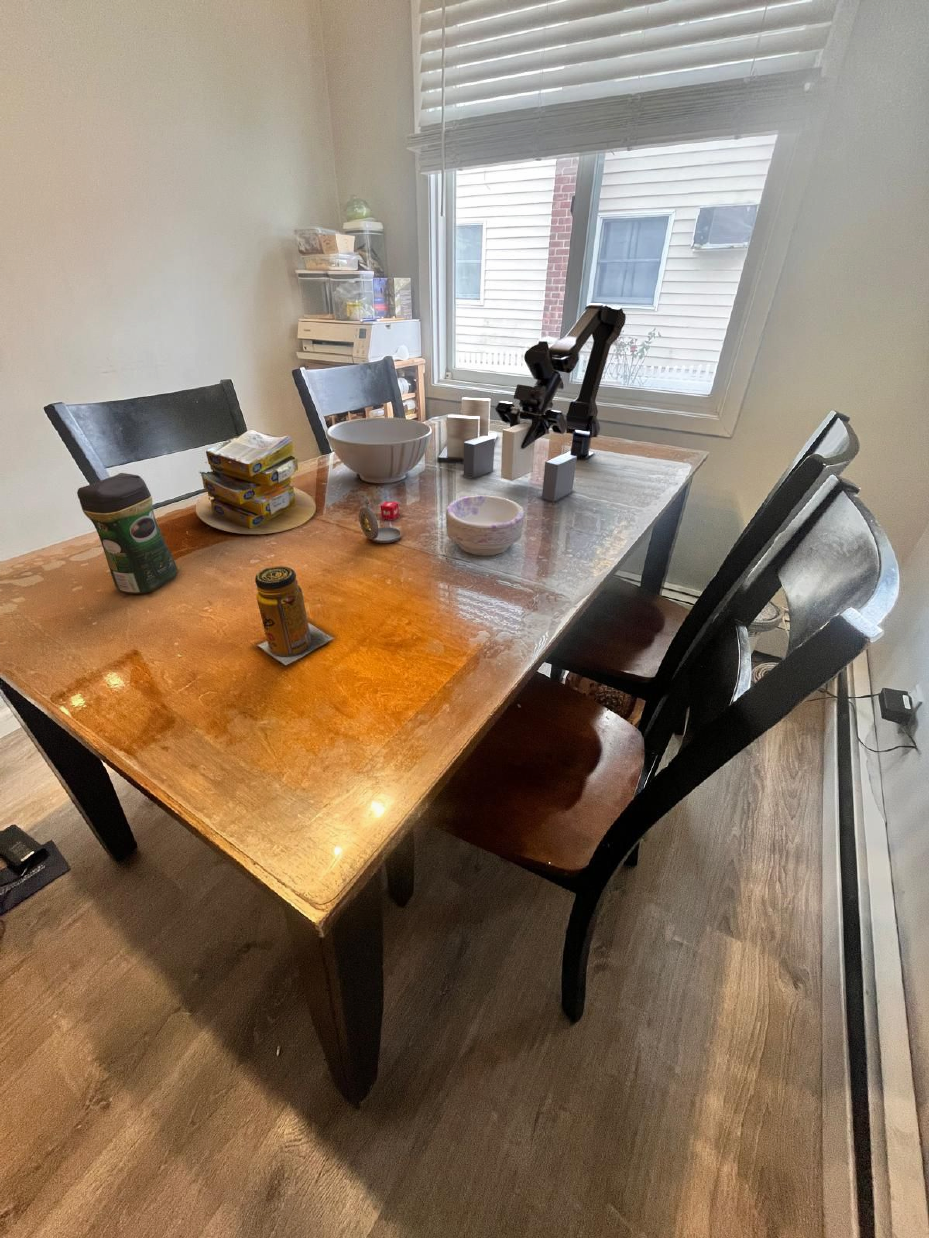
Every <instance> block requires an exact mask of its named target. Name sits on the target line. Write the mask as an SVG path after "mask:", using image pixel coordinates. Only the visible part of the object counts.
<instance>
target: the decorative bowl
mask: <svg viewBox="0 0 929 1238" xmlns="http://www.w3.org/2000/svg"><path fill="white" fill-rule="evenodd" d="M325 434H326V438H327V440H328V443H329V445H330V447H331V449H332V450H333V452H334V454H335V455H336V457H337V459H339V461H340V462H341V463H342V464H343V465H344V466H345V467H346V468H348V469H349V470H351V472H353V473H355V474H356V475H359V479H361V480H362V481H364V482H367V483H371V484H390V483H396V482H399V481H401V480H403V479H405V478H406V476H407V473H408V472H410V471H412V470H413V469H414V468H415V467H416V466H417V465H418V464H419V463H420V461H421V460H422V458H423V457H424V456H425V454H426V452H427V449H428V447H429V444H430V441H431V438H432V434H433V429H432V428H431V426H430V425H429V424H427V423H425V422H423V421H419V420H415V419H409V418H403V417H389V416H387V417H386V416H385V417H380V416H379V417H363V418H356V419H355V418H354V419H350V420H345V421H341V422H338V423H335V424H332V425H331V426H330V427H328V428H327V429H326V432H325Z"/></svg>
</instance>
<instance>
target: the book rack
mask: <svg viewBox="0 0 929 1238" xmlns="http://www.w3.org/2000/svg"><path fill="white" fill-rule="evenodd" d="M460 413H461V415H457V414H456V415H455V414H454V415H453V414H448V415H447V416H446V444H445V446H444V448H443V449H442V450H441V452H440V453H439V455H438V456H437V462H439V463H440V462H441V463H442V462H444V463H458V464H463V457H464V442H466V441H469V440H472V439H475V438H478V437H481V436H489V437H493V438H495V441H496V440H497V438H498V433H494V432H490V424H491V423H490V422H491V421H490V420H491V398H483V397H481V398H480V397H462V398H461V411H460Z"/></svg>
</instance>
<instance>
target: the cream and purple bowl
mask: <svg viewBox="0 0 929 1238" xmlns="http://www.w3.org/2000/svg"><path fill="white" fill-rule="evenodd" d="M524 517H525V511H524V509H523V507H521V505H520V504H518V503H517V502H515V501H513V500H510V499H508V498H505V497H502V496H501V497H500V496H496V495H495V496H494V495H469V496H464V497H460V498H458V499H455V500H453V501H452V502H450V503H449V504H448V506H447V508H446V510H445V519H446V520H445V523H446V524H445V530H446V532H445V533H446V535H447V537H448V538H449V539H450V540H451V541H453V542H454V543H456V544H457V546H458V547H459V548H460V549H461V550H463V551H464V552H466V553H468V554H471V555H475V556H482V557H483V556H485V557H487V556H494V555H497V554H498V555H499V554H501V553H503V552H505V551H506V550H508V548H509V547H510V546H512V545H513V544H515V543H517V542H518V541H519V540H520V539H521V538H522V535H523V529H524V520H525V519H524Z"/></svg>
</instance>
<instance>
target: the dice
mask: <svg viewBox="0 0 929 1238" xmlns="http://www.w3.org/2000/svg"><path fill="white" fill-rule="evenodd" d="M379 507H380V518H381V519H383V520H390V521H395V519H397V518H398V517H399V516H400V508H399V507H400V506H399V502H396V501H391V500H390V501H389V500H386V501H383V503H382V504H380V505H379Z"/></svg>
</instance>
